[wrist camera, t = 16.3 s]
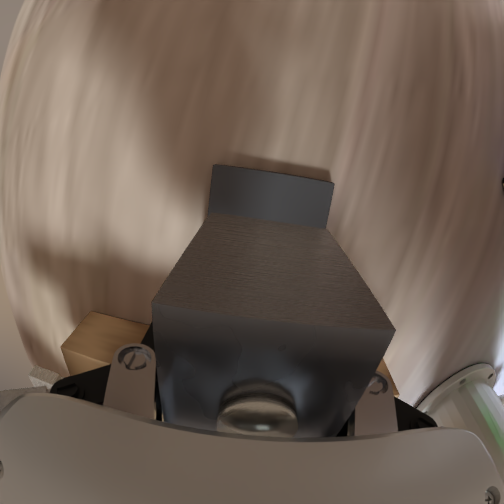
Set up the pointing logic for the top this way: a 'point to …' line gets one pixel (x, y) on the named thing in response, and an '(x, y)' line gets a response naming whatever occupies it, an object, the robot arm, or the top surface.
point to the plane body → (117, 343)
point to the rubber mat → (270, 196)
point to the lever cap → (265, 331)
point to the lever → (43, 377)
